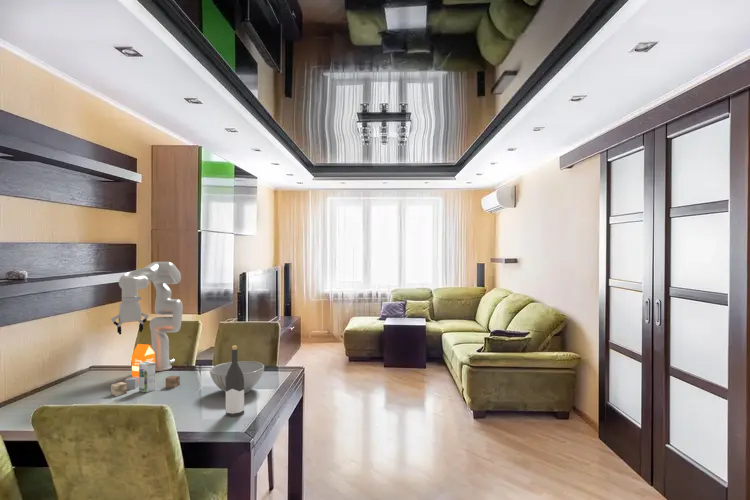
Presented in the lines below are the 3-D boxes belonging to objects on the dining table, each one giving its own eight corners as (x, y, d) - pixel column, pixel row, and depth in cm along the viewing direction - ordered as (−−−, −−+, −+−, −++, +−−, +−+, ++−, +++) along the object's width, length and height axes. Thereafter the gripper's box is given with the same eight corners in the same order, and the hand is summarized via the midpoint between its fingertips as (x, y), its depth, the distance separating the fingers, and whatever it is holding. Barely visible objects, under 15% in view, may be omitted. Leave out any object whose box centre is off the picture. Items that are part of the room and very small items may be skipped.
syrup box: (138, 391, 230) (138, 363, 230) (148, 387, 235) (148, 360, 235) (145, 392, 227) (145, 364, 227) (156, 389, 232) (155, 361, 232)
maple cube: (121, 391, 229) (121, 382, 229) (126, 393, 227) (126, 383, 227) (111, 394, 225) (111, 384, 225) (116, 396, 222) (116, 386, 222)
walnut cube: (170, 384, 241) (170, 375, 241) (179, 385, 240) (179, 375, 240) (165, 387, 236) (165, 378, 236) (174, 387, 235) (174, 378, 235)
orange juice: (144, 382, 244) (143, 346, 244) (131, 381, 247) (131, 345, 247) (155, 378, 252) (155, 343, 251) (143, 377, 254) (143, 342, 254)
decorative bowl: (207, 402, 212) (207, 377, 212) (212, 385, 238) (211, 363, 238) (265, 397, 220) (265, 372, 220) (263, 381, 245) (263, 359, 245)
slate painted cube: (128, 386, 238) (128, 376, 238) (138, 385, 239) (138, 376, 239) (124, 389, 233) (124, 379, 233) (135, 388, 234) (135, 379, 234)
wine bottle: (246, 410, 202) (246, 343, 202) (241, 416, 194) (241, 347, 194) (228, 410, 202) (228, 344, 202) (223, 417, 194) (222, 348, 194)
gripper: (146, 298, 242) (146, 329, 242) (109, 300, 231) (110, 333, 231) (149, 299, 236) (150, 331, 236) (112, 302, 225) (112, 336, 226)
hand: (130, 332), depth 234 cm, fingers open, 9 cm apart
